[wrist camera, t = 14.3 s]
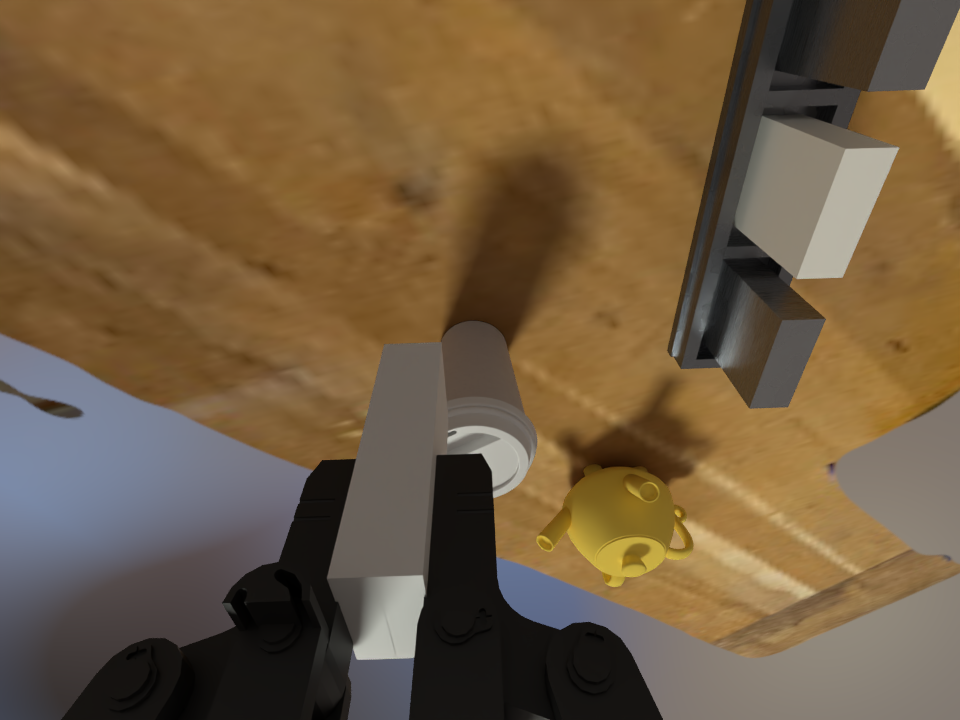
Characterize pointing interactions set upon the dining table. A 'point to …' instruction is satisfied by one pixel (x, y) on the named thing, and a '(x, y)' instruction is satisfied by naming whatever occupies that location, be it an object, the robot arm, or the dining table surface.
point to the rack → (750, 94)
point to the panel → (810, 192)
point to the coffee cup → (486, 403)
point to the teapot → (620, 522)
